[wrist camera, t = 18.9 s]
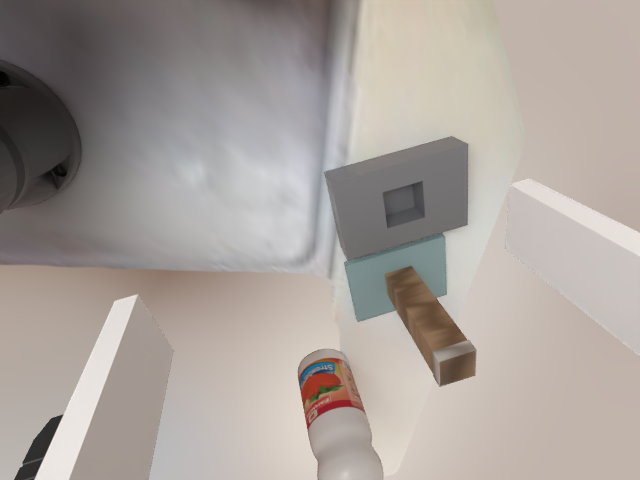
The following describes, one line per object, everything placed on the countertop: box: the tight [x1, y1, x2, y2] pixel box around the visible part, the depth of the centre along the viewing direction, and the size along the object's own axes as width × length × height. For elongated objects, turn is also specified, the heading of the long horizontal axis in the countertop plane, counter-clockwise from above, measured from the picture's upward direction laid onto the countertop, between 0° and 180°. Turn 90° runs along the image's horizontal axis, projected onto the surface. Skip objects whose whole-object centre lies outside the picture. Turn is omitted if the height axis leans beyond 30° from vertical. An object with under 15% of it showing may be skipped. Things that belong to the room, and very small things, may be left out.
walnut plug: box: [385, 266, 476, 387], centre depth 51 cm, size 5×5×18 cm
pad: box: [344, 233, 447, 322], centre depth 59 cm, size 16×12×1 cm
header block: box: [325, 136, 468, 260], centre depth 50 cm, size 18×12×4 cm, turn 102°
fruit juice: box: [298, 349, 383, 480], centre depth 54 cm, size 9×9×28 cm
